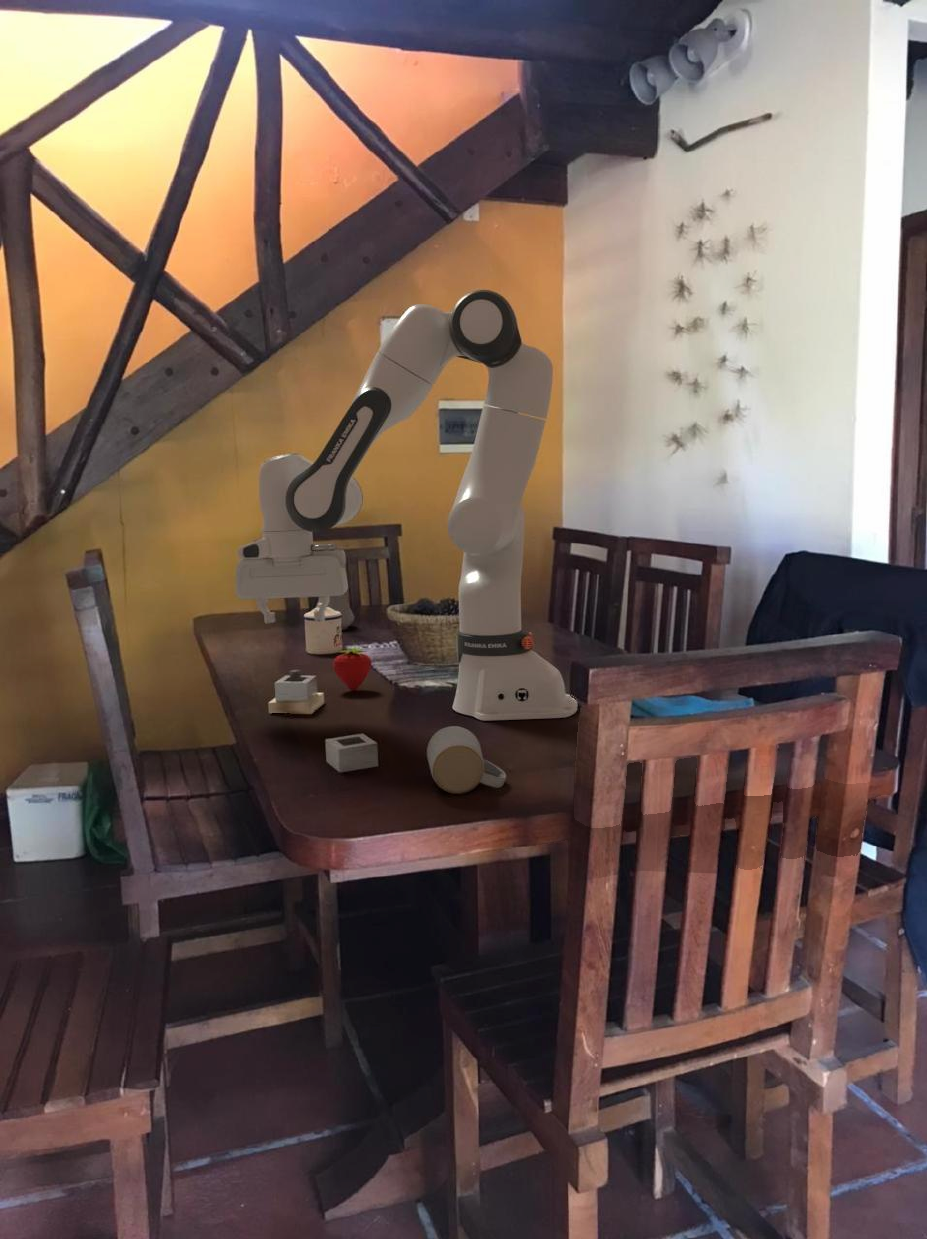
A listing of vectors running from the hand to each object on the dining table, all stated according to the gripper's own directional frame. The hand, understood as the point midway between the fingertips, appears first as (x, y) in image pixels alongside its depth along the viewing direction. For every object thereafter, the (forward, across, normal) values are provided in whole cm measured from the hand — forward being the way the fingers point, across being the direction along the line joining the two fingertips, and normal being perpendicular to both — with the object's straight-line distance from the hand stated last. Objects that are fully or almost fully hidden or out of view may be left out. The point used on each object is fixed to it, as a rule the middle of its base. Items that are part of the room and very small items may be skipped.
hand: (294, 621), depth 176 cm
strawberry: (+16, -6, -14) cm, 22 cm away
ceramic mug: (+18, -36, +40) cm, 57 cm away
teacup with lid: (+16, +12, -55) cm, 58 cm away
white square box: (+17, -18, +32) cm, 40 cm away
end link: (+14, +1, 0) cm, 14 cm away
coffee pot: (+16, +16, -81) cm, 84 cm away
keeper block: (+16, +1, 0) cm, 16 cm away
